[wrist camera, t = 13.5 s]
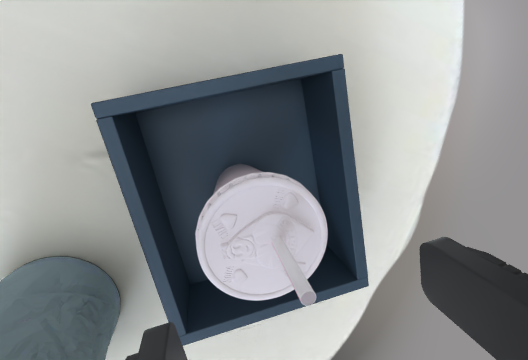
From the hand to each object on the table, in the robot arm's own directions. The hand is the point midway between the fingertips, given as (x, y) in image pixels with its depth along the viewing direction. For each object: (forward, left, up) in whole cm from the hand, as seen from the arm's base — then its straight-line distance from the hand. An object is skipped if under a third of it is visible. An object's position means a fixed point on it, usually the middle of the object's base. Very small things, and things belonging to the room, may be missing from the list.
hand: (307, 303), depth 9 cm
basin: (0, 0, -15) cm, 15 cm away
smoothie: (0, 0, -15) cm, 15 cm away
